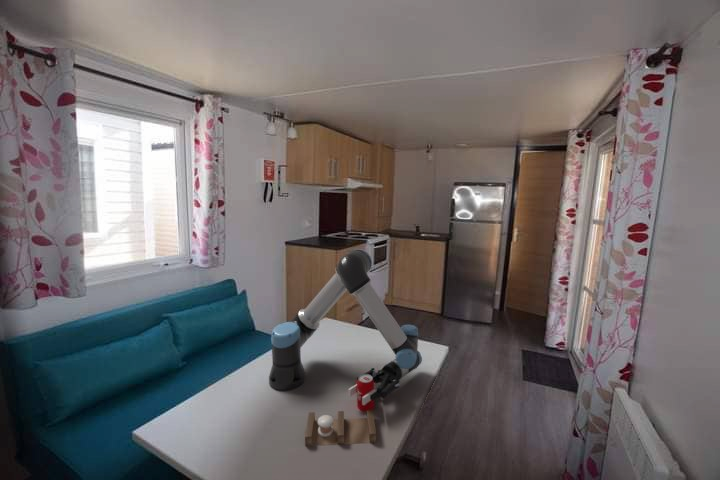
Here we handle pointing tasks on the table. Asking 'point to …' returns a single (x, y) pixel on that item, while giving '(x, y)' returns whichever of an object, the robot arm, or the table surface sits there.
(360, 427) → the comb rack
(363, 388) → the beverage can
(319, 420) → the white knob
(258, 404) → the table surface
